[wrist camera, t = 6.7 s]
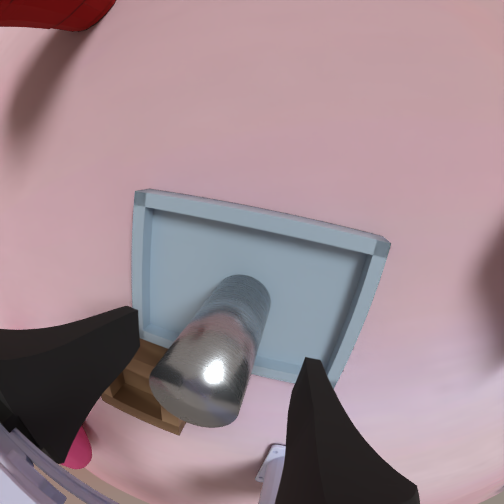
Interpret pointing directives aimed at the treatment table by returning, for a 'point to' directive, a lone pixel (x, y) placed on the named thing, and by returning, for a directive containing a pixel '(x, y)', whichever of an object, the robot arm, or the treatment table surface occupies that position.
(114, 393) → the socket block
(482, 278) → the treatment table surface
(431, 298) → the treatment table surface
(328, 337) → the tray
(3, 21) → the plastic cup
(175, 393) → the dowel
